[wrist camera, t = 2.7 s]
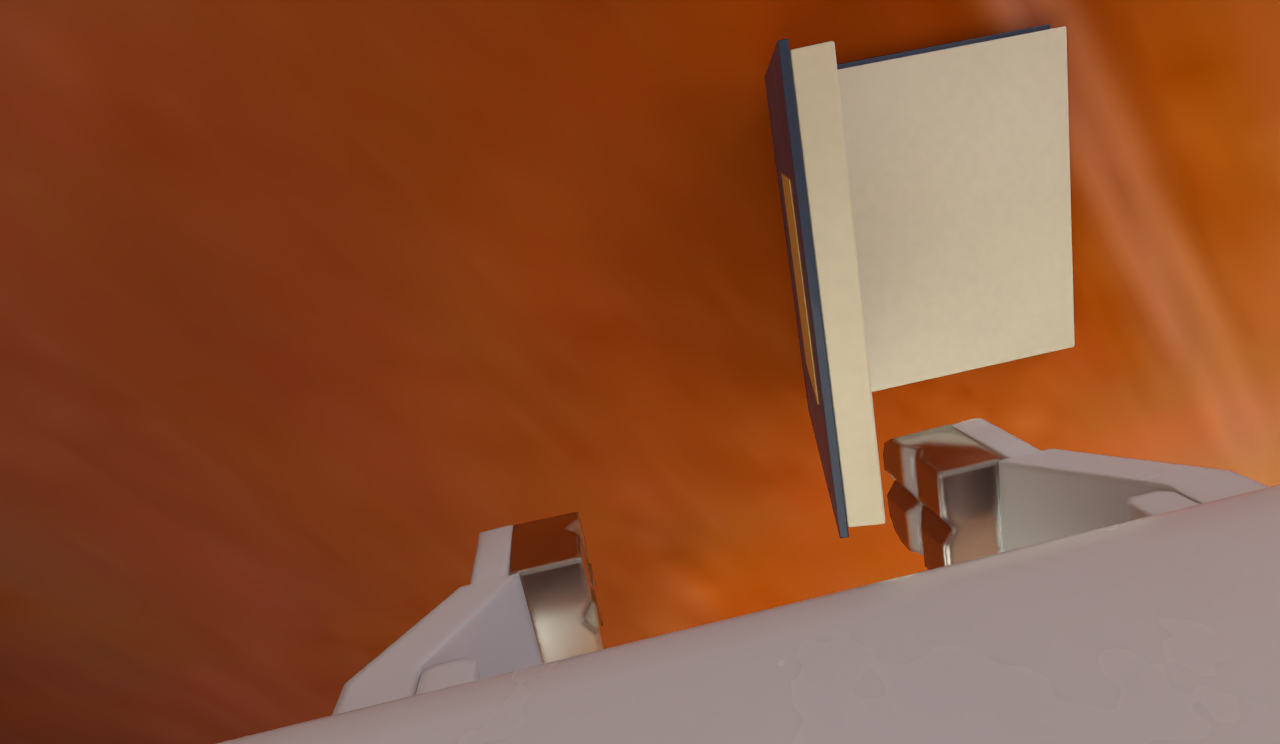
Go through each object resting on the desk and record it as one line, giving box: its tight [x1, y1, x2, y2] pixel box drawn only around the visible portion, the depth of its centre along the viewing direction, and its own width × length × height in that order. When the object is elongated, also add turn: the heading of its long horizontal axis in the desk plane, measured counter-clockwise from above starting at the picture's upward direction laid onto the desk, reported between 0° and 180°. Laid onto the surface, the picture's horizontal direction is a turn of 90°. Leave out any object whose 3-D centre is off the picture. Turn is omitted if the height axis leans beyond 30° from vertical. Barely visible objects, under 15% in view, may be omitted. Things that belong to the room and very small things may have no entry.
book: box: [837, 24, 1075, 392], centre depth 36 cm, size 13×16×2 cm
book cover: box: [765, 39, 885, 538], centre depth 29 cm, size 13×16×2 cm
